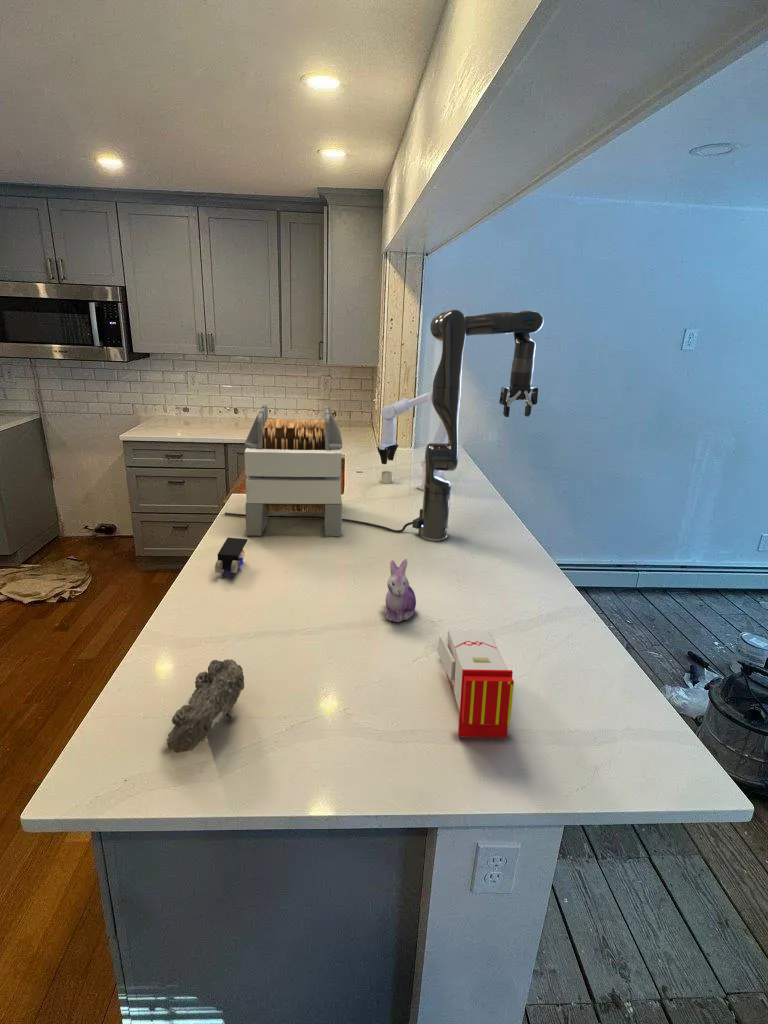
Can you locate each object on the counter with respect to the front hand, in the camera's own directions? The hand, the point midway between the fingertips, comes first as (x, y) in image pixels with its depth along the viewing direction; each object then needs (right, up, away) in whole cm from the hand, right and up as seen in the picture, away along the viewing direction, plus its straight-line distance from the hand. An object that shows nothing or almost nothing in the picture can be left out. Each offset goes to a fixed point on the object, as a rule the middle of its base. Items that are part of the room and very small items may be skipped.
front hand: (516, 416), depth 205 cm
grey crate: (-81, -37, +3) cm, 89 cm away
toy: (-30, -72, -87) cm, 117 cm away
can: (-47, -21, +53) cm, 74 cm away
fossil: (-81, -74, -97) cm, 146 cm away
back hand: (-47, -12, +50) cm, 70 cm away
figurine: (-44, -61, -58) cm, 95 cm away
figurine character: (-93, -52, -38) cm, 113 cm away
